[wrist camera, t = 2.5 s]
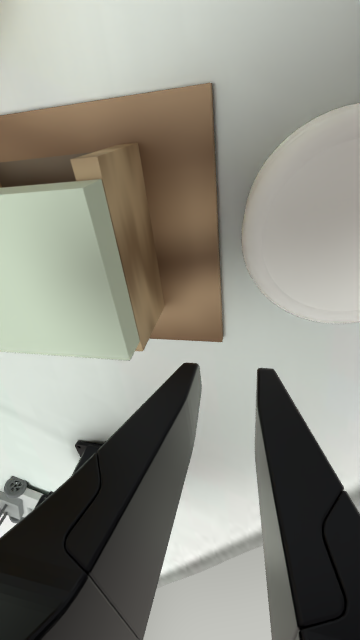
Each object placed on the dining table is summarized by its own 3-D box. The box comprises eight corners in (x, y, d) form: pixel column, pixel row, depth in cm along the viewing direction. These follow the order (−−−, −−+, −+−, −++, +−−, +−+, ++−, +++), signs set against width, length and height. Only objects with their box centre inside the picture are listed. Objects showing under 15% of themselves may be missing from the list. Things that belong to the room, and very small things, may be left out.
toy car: (-42, 562, 47) (-57, 538, 39) (2, 496, 54) (-4, 466, 47) (69, 605, 46) (74, 589, 39) (98, 532, 54) (106, 508, 47)
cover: (139, 341, 17) (129, 360, 16) (-15, 333, 20) (-35, 349, 18) (101, 178, 12) (82, 188, 11) (-96, 196, 15) (-129, 205, 14)
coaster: (342, 48, 13) (363, 34, 10) (506, 185, 14) (563, 207, 12) (211, 237, 19) (202, 261, 16) (336, 321, 20) (347, 356, 18)
